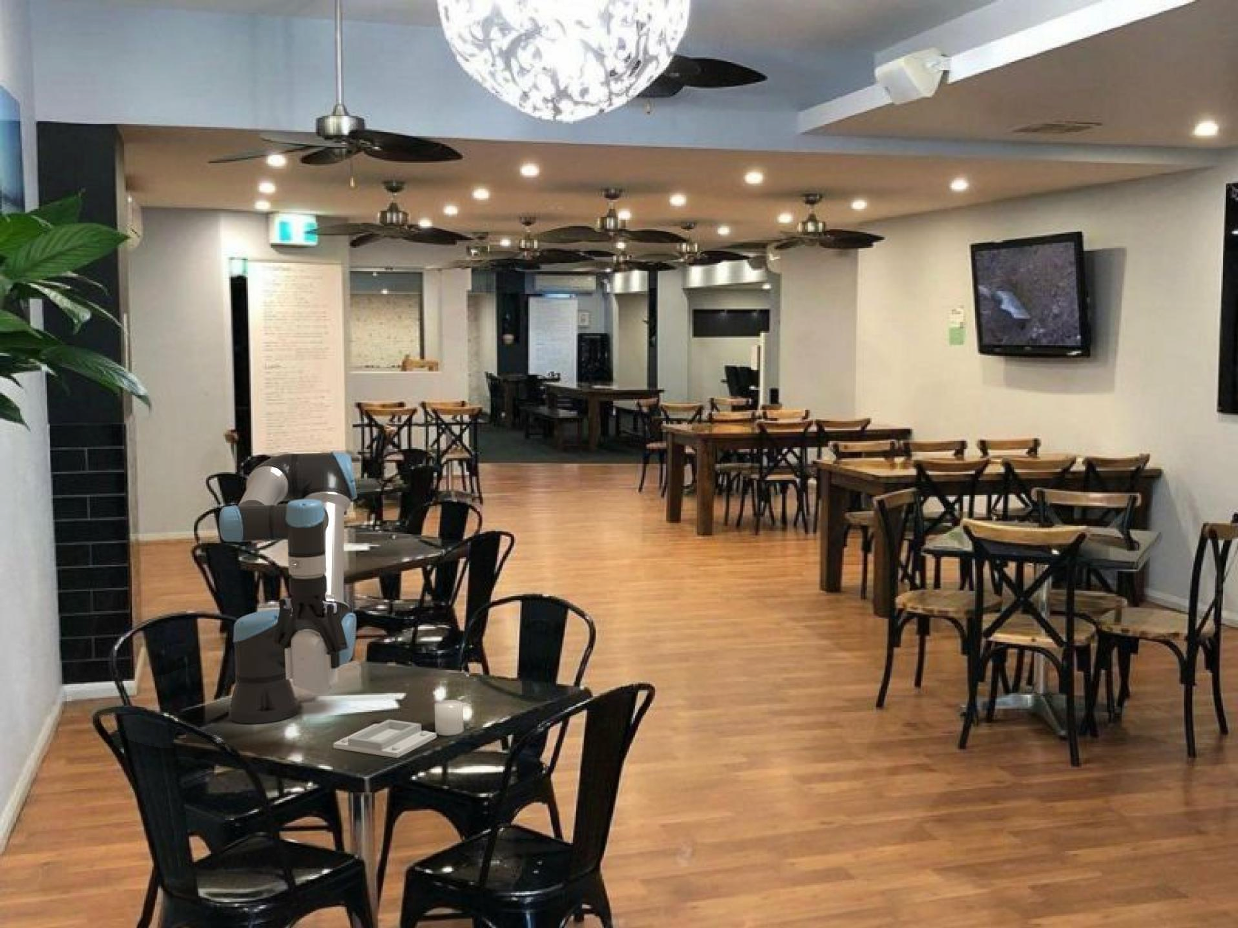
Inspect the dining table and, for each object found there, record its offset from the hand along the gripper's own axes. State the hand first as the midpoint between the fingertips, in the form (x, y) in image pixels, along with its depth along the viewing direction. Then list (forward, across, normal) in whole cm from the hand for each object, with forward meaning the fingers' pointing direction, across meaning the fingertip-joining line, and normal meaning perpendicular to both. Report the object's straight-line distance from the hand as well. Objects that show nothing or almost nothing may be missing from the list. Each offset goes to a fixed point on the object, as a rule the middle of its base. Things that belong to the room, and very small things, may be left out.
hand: (311, 680), depth 248 cm
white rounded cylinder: (+14, +21, +18) cm, 31 cm away
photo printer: (+2, 0, 0) cm, 2 cm away
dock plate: (+14, +13, +6) cm, 20 cm away
